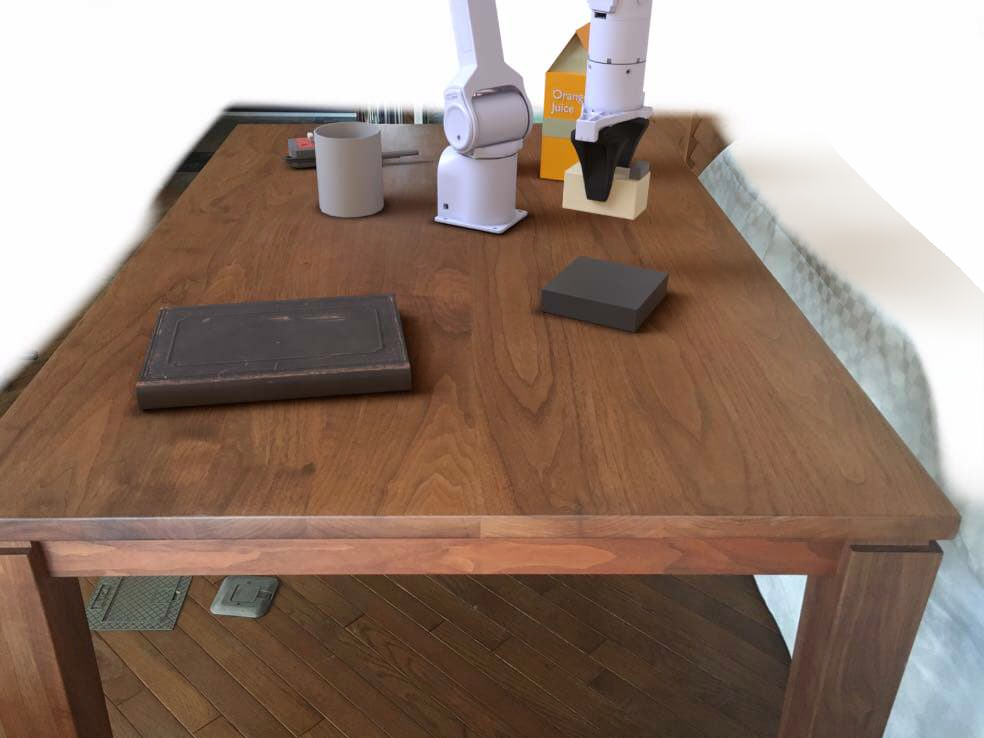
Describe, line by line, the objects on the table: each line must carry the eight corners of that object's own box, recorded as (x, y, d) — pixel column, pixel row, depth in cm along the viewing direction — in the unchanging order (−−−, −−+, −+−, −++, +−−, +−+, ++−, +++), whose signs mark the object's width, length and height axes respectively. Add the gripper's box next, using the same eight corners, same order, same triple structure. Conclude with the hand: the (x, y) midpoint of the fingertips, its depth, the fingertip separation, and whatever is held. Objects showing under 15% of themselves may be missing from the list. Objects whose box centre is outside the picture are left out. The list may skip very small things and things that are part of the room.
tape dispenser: (562, 208, 97) (566, 146, 93) (576, 196, 100) (581, 136, 96) (633, 220, 93) (640, 156, 90) (646, 208, 97) (653, 146, 93)
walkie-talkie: (286, 174, 131) (420, 163, 135) (283, 143, 129) (419, 134, 133) (281, 157, 139) (408, 148, 143) (278, 128, 136) (407, 119, 140)
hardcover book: (164, 328, 89) (160, 307, 88) (395, 313, 92) (394, 292, 90) (139, 413, 76) (134, 389, 74) (411, 393, 78) (411, 370, 77)
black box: (540, 311, 92) (541, 288, 91) (577, 276, 99) (579, 255, 98) (634, 332, 88) (637, 309, 86) (666, 295, 95) (669, 273, 94)
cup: (308, 212, 117) (301, 135, 112) (338, 193, 124) (333, 119, 119) (366, 220, 115) (362, 141, 109) (393, 200, 121) (391, 125, 116)
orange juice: (539, 177, 129) (546, 28, 119) (556, 160, 136) (565, 18, 126) (592, 184, 127) (604, 32, 116) (607, 166, 134) (620, 22, 123)
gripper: (631, 76, 82) (617, 220, 89) (678, 50, 92) (662, 180, 100) (559, 69, 85) (551, 209, 92) (613, 44, 95) (602, 171, 102)
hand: (604, 193), depth 96 cm, fingers closed on tape dispenser, 4 cm apart
